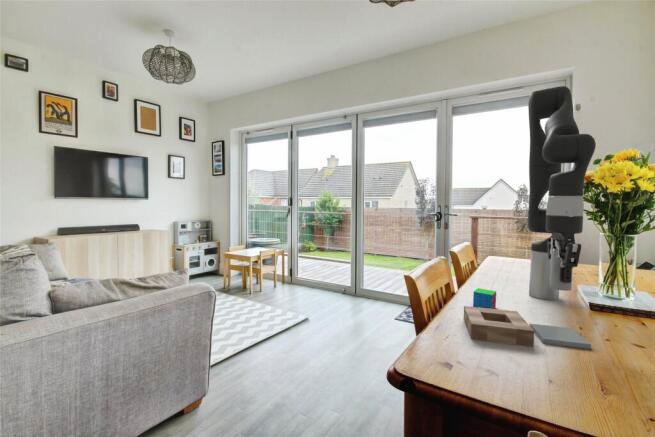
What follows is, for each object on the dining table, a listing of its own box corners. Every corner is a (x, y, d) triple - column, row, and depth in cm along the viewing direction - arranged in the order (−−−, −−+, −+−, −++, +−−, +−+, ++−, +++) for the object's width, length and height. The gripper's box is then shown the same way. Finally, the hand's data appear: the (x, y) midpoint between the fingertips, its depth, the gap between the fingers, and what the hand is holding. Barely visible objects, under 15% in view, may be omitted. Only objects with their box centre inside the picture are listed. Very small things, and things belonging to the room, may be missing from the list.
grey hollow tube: (575, 291, 77) (577, 250, 76) (554, 290, 78) (557, 250, 77) (565, 286, 81) (567, 248, 81) (546, 285, 82) (548, 247, 82)
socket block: (463, 319, 92) (464, 306, 92) (516, 325, 88) (516, 311, 88) (470, 338, 79) (471, 323, 79) (533, 346, 75) (534, 330, 75)
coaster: (529, 327, 86) (529, 323, 86) (571, 332, 83) (571, 328, 83) (543, 343, 77) (543, 338, 77) (591, 349, 74) (591, 344, 74)
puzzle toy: (492, 312, 98) (492, 294, 98) (472, 308, 102) (473, 291, 102) (495, 308, 103) (496, 291, 102) (477, 304, 106) (477, 287, 106)
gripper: (537, 212, 86) (534, 272, 87) (559, 214, 73) (555, 285, 74) (568, 213, 84) (565, 274, 85) (597, 215, 70) (593, 288, 71)
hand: (560, 279), depth 79 cm, fingers closed on grey hollow tube, 4 cm apart
